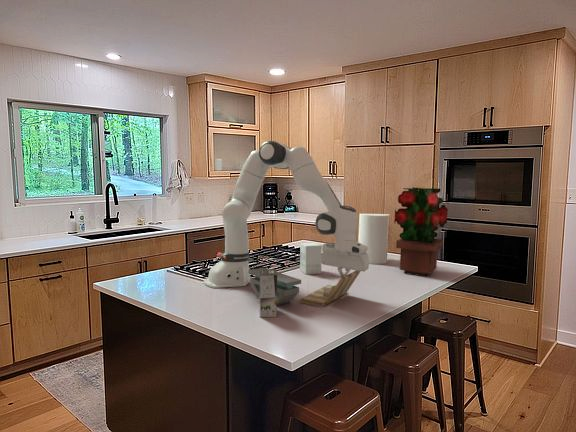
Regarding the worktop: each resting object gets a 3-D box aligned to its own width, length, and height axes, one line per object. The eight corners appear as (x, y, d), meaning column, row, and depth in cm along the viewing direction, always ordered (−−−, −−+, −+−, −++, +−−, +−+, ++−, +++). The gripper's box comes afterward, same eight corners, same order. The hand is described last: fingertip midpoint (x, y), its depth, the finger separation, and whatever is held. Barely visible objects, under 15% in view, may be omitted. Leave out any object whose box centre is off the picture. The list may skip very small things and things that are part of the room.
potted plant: (434, 280, 221) (440, 190, 215) (391, 273, 232) (396, 188, 226) (443, 271, 240) (449, 188, 235) (403, 265, 251) (407, 186, 245)
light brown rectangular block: (321, 307, 176) (322, 293, 175) (300, 302, 181) (300, 289, 180) (346, 292, 196) (346, 280, 195) (326, 288, 201) (326, 277, 201)
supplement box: (315, 269, 237) (316, 242, 235) (321, 273, 229) (322, 245, 227) (299, 270, 234) (300, 242, 232) (305, 274, 226) (306, 245, 224)
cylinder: (389, 264, 253) (392, 216, 249) (359, 263, 253) (361, 215, 249) (383, 257, 270) (386, 212, 266) (355, 257, 270) (357, 211, 267)
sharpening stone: (248, 294, 190) (248, 269, 189) (262, 291, 195) (263, 267, 194) (285, 310, 171) (286, 283, 170) (300, 306, 176) (301, 279, 175)
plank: (343, 280, 173) (340, 278, 174) (328, 303, 178) (325, 301, 178) (360, 271, 188) (358, 269, 189) (346, 292, 193) (343, 290, 193)
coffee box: (276, 317, 163) (277, 275, 161) (259, 317, 163) (260, 275, 161) (275, 309, 172) (276, 268, 170) (259, 309, 172) (259, 268, 170)
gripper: (319, 243, 184) (317, 275, 186) (365, 250, 173) (363, 284, 175) (326, 241, 189) (324, 272, 191) (371, 247, 179) (369, 280, 181)
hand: (343, 278), depth 183 cm, fingers closed
